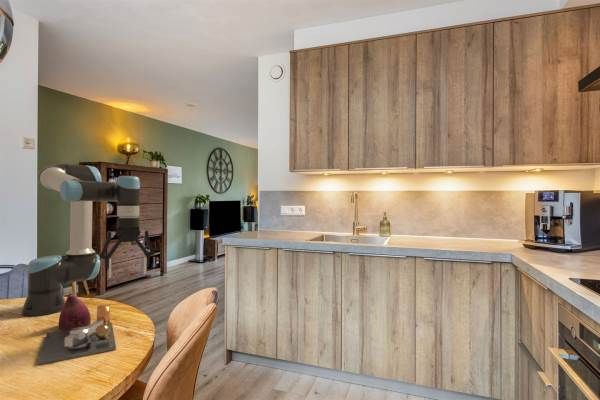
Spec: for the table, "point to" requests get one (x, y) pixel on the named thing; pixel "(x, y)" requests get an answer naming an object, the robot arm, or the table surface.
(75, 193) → the robot arm
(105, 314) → the lever
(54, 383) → the table surface
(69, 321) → the vegetable
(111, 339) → the base
